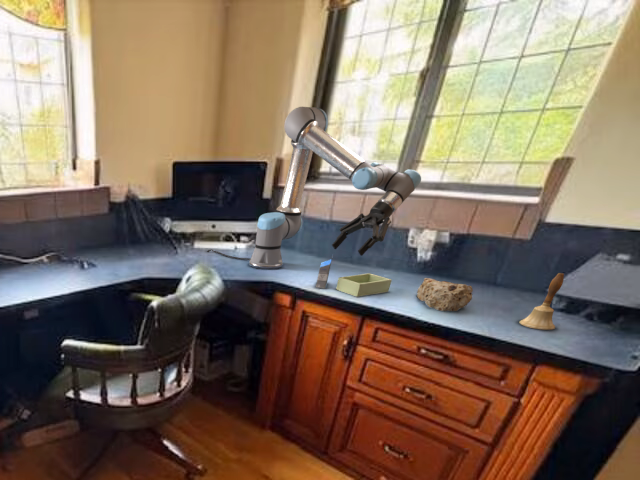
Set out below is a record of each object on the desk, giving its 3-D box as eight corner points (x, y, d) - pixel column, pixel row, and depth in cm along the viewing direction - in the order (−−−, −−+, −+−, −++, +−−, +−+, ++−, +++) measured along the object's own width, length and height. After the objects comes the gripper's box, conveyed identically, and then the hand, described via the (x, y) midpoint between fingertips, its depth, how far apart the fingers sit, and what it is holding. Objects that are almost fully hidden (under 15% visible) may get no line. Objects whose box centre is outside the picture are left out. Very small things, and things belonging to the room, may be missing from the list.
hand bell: (514, 319, 134) (536, 269, 126) (545, 321, 132) (570, 270, 124) (527, 329, 127) (551, 276, 119) (560, 331, 125) (588, 278, 117)
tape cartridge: (317, 282, 176) (323, 252, 170) (327, 283, 174) (333, 252, 168) (315, 287, 169) (321, 256, 163) (325, 288, 168) (332, 257, 162)
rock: (407, 295, 160) (422, 270, 155) (447, 307, 157) (463, 281, 153) (424, 307, 142) (441, 278, 137) (470, 320, 139) (488, 291, 135)
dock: (335, 289, 167) (338, 277, 164) (366, 284, 171) (369, 273, 169) (356, 296, 158) (360, 284, 155) (388, 291, 162) (392, 279, 160)
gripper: (416, 217, 156) (375, 262, 159) (363, 210, 177) (327, 250, 180) (410, 203, 152) (368, 249, 155) (356, 197, 173) (319, 238, 176)
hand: (346, 250), depth 168 cm, fingers open, 13 cm apart
